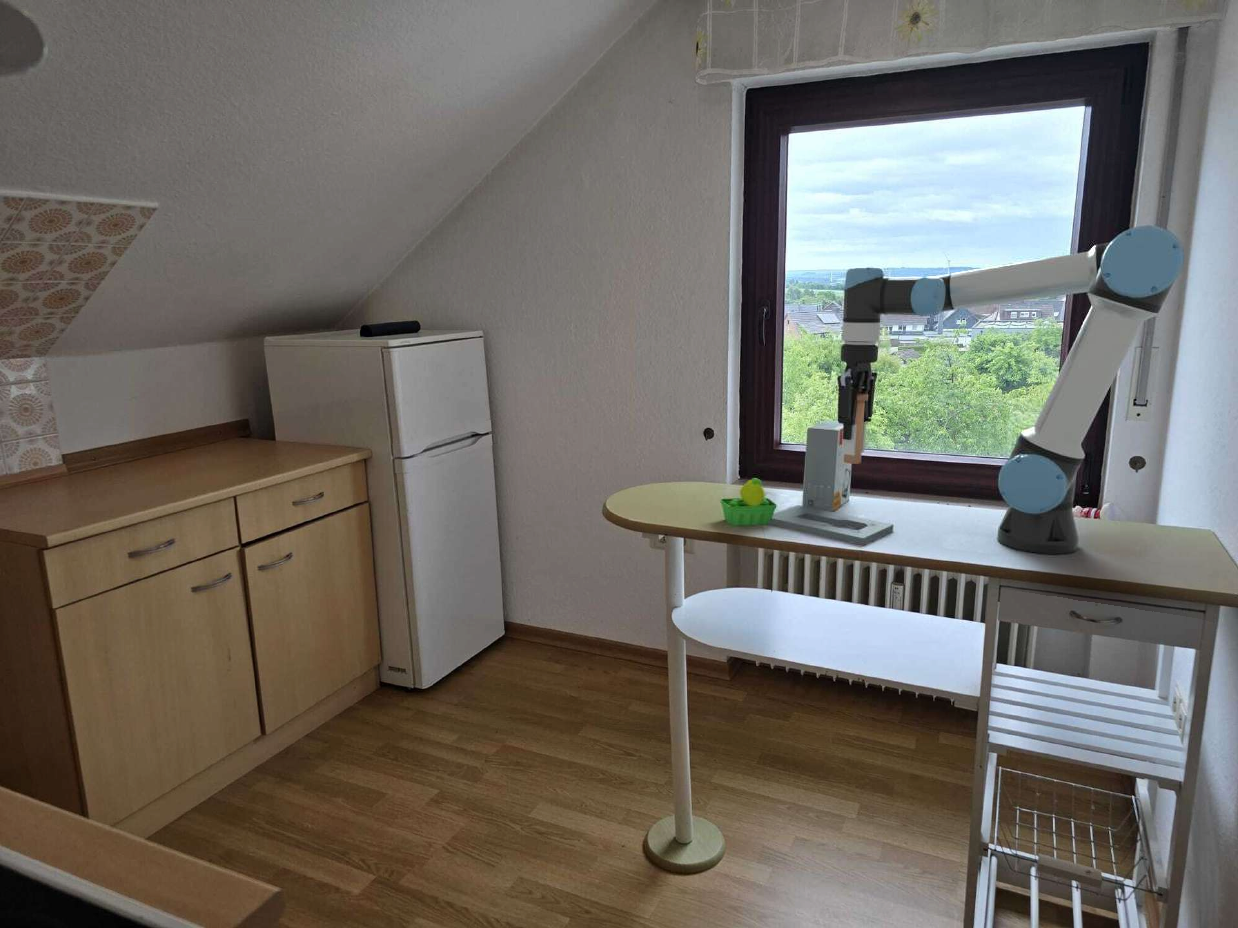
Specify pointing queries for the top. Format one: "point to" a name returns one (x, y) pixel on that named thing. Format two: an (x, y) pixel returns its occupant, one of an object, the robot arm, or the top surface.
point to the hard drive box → (825, 468)
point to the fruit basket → (749, 506)
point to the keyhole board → (822, 522)
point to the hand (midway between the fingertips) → (852, 452)
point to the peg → (858, 430)
